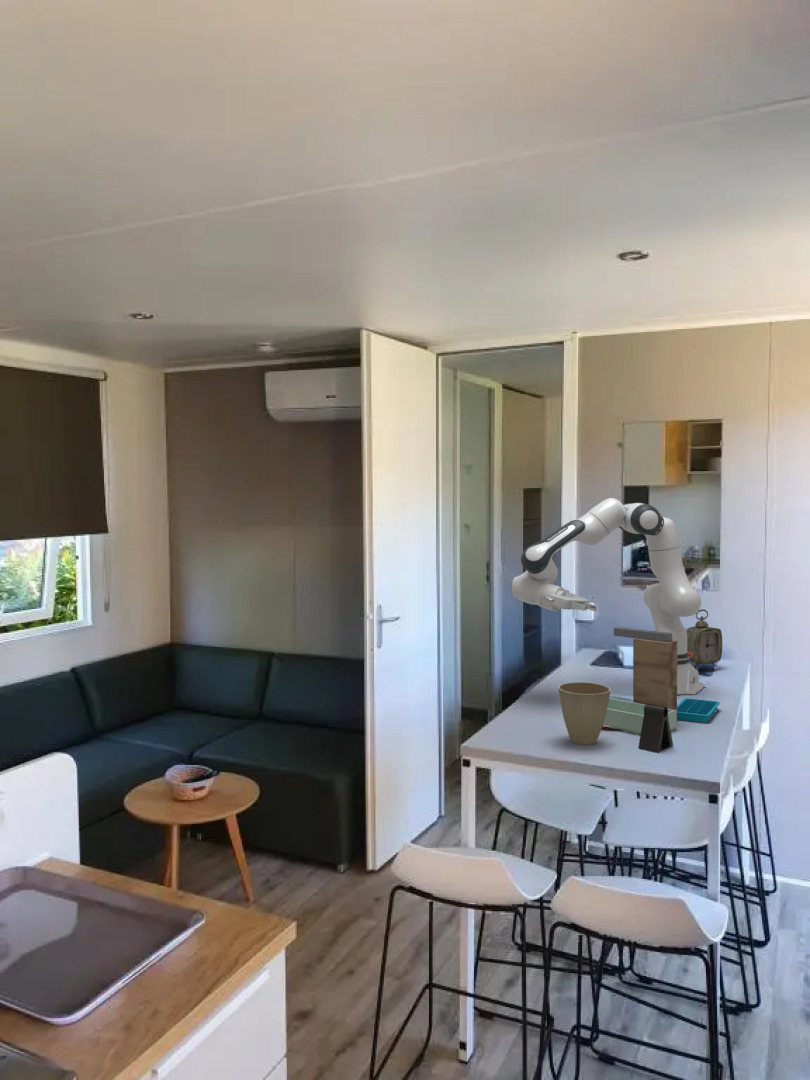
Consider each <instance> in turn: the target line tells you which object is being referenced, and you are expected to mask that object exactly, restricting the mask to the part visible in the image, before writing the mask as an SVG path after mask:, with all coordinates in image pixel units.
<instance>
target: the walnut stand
mask: <svg viewBox="0 0 810 1080" xmlns="http://www.w3.org/2000/svg"><path fill="white" fill-rule="evenodd" d="M632 639H633V640H632V655H633V656H632V660H633V661H632V667H633V668H632V675H633V676H632V702H634V703H640V704H645V705H647V704H651V705H656V706H661V707H667V709H672V710H677V705H678V694H677V641H675V640H672V641H671V642H660V641H652V640H644V639H636V638H632Z"/></svg>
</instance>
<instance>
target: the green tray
mask: <svg viewBox="0 0 810 1080" xmlns="http://www.w3.org/2000/svg"><path fill="white" fill-rule="evenodd" d="M644 706H645V704H640V703H634V702H633V701H629V700H623V699H617V698H612V697H609V702H608V707H607V712H606V716H605V719H604V723H603V724H605V725H609V726H612V727H615V728H617V729H620V730H622V731H621V732H623V731H626V732H625V733H628V732H629V734H633V733H635V734H634V735H637V734H639V735H638V736H640V735H641V729H642V724H643V718H644ZM668 720H669V725H670V731H671V733H673V732H674V731H677V723H678V720H677V710H672V709H668Z"/></svg>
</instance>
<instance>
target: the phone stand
mask: <svg viewBox="0 0 810 1080" xmlns="http://www.w3.org/2000/svg"><path fill="white" fill-rule="evenodd" d="M639 736H640V737H639V741H638V742H639V743H638V745H637V746H638V749H639V748H640V749H639V750H643V749H645V751H648V752H652V753H656V752H657V754H659V753H660V752H661V753H662V752H663V751H665V750H668V749H670V748H672V747H673V746H674V742H673V737H672V732H671V731H670V725H669V720H668V709H667V707H661V706H656V705H651V704H647V705H645V706H644V718H643V724H642V729H641V735H639Z"/></svg>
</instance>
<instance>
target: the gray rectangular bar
mask: <svg viewBox="0 0 810 1080" xmlns="http://www.w3.org/2000/svg"><path fill="white" fill-rule="evenodd" d="M613 636H614V637H621V638H631V639H635V638H636V639H644V640H652V641H660V642H671V641H672V633H666V632H657V631H655V630H646V629H639V628H632V627H621V626H618V627H613Z"/></svg>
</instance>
